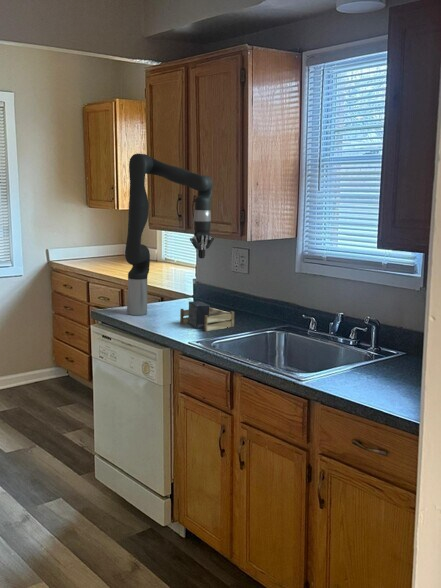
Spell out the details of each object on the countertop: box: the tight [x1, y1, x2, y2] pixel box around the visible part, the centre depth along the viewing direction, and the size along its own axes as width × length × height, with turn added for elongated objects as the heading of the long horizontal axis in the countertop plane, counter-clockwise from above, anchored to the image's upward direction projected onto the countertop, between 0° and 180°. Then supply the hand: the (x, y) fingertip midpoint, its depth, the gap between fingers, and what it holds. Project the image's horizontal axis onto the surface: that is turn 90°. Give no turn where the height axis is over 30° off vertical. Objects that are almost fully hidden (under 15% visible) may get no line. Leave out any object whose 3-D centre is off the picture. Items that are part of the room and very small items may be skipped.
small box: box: [187, 300, 210, 330], centre depth 284 cm, size 11×6×10 cm, turn 23°
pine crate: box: [179, 305, 235, 332], centre depth 287 cm, size 18×16×7 cm
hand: (201, 258), depth 292 cm, fingers closed
